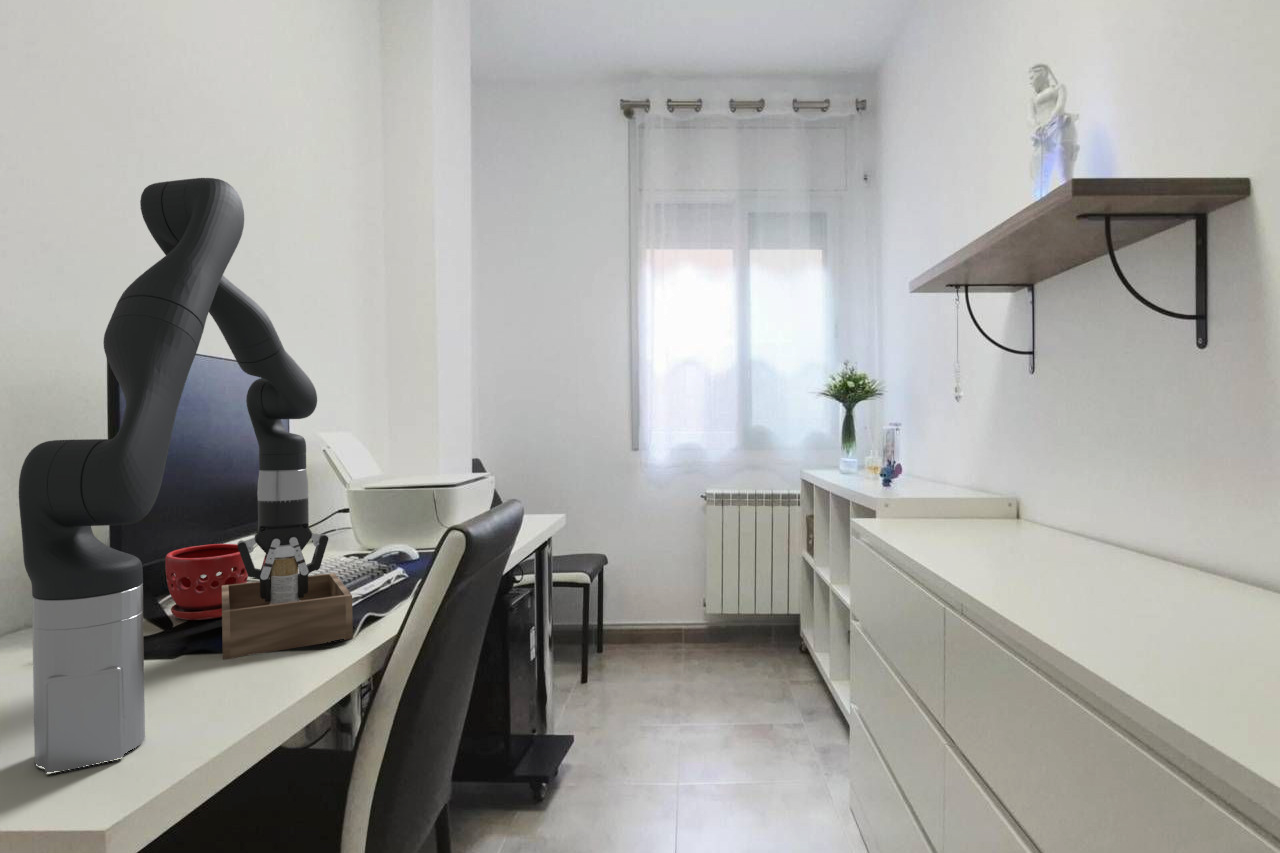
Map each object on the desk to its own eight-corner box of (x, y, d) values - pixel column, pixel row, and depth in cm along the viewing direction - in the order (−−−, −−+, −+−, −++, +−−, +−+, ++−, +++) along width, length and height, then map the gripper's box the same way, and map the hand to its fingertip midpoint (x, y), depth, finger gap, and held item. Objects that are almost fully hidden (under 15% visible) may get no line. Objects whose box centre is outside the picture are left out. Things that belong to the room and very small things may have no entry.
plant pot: (149, 620, 123) (148, 553, 123) (218, 602, 135) (218, 541, 135) (198, 628, 118) (197, 558, 118) (266, 608, 130) (265, 545, 130)
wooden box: (352, 638, 111) (352, 595, 111) (222, 659, 102) (222, 612, 102) (335, 610, 128) (334, 572, 128) (222, 625, 119) (221, 585, 119)
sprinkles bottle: (278, 620, 117) (277, 541, 117) (305, 620, 117) (303, 541, 117) (263, 628, 113) (262, 546, 113) (291, 628, 113) (290, 546, 113)
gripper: (234, 501, 108) (235, 610, 108) (332, 495, 115) (333, 597, 115) (233, 497, 114) (234, 600, 114) (326, 492, 122) (328, 588, 122)
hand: (284, 598), depth 115 cm, fingers closed on sprinkles bottle, 4 cm apart
